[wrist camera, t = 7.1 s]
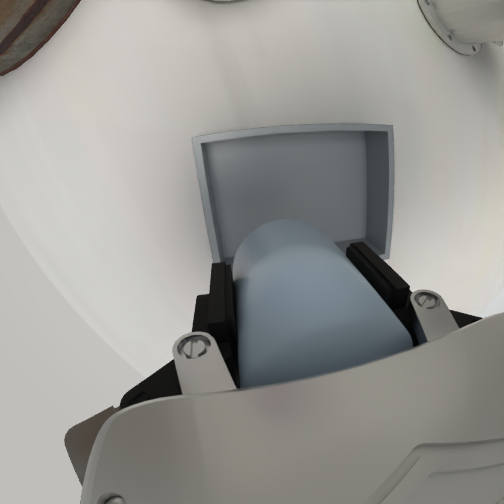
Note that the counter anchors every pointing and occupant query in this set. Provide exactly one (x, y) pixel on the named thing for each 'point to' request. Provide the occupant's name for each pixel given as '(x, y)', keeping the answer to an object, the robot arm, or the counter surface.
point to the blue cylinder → (305, 307)
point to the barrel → (28, 28)
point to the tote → (298, 183)
